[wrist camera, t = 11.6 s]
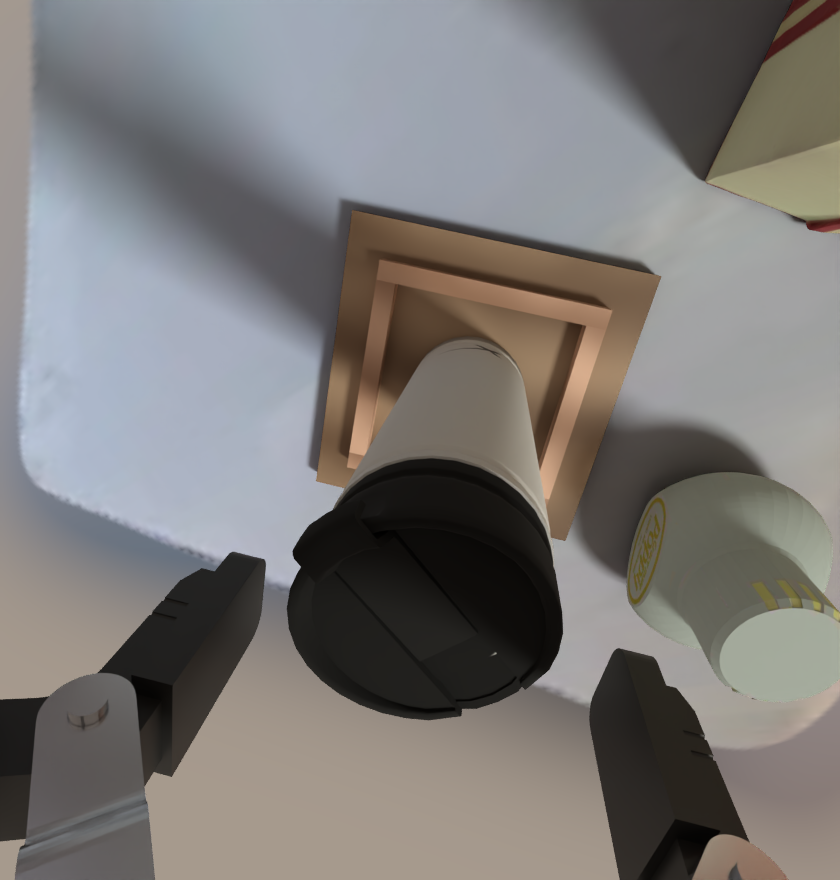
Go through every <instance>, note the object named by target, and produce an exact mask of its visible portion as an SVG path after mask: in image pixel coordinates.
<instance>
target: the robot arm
mask: <svg viewBox="0 0 840 880" xmlns="http://www.w3.org/2000/svg"><path fill="white" fill-rule="evenodd" d="M265 569H266V562H265V560H264V559H261V558H257V557H253V556H249V555H245V554H241V553H237V552H231V553H230V554H229V555H228V556H227V557H226V558H225V559H224V561H223V562H222V563H221V564H220V566H219V567H218V568H217V569H216V571H210V570H207V569H202V568H201V569H200V570H198V571H197V572H195V573H193V574H191V575H189V576H187V577H186V578H184V579H182V580H180V581H179V582H178V584H177V585H176V586H175V587H174V588H173V589H172V590H171V591H170V593H169V594H168V595H167V596H166V597H165V600H164V601H161V603H160V604H159V605H158V606H157V607H156V608H155V609H154V611H153V612H152V615H149V616H148V617H147V618H146V620H145V621H144V622H143V623H142V624H141V625H140V626H139V628H138V629H137V630H136V631H135V632H134V633H133V634H132V635H131V636H130V638H129V639H128V640H127V641H126V642H125V643H124V644H123V645H122V647H121V648H120V649H119V650H118V651H117V652H116V653H115V655H114V656H113V657H112V658H111V659H110V660H109V661H108V663H106V665H105V666H104V667H103V668H102V669H101V670H100V671H99V672H98V673H96V674H91V675H86V676H83V677H79V678H77V679H75V680H72V681H70V682H68V683H66V684H65V685H63V686H61V687H60V688H59V689H57V690H56V691H55V692H54V693H52V694H51V695H50V696H48V697H43V698H27V699H3V700H0V841H9V840H18V839H26V840H25V845H24V846H21V847H20V850H19V853H18V858H17V865H16V872H15V880H155V875H154V864H153V854H152V843H151V833H150V822H149V812H148V804H147V802H146V798H145V788H144V787H145V785H146V783H147V782H148V780H149V779H150V777H151V775H152V774H153V772H156V773H160V774H163V775H167V776H171V777H172V775H173V774H174V772H175V770H176V769H177V767H178V765H179V764H180V762H181V760H182V758H183V757H184V755H185V753H186V752H187V750H188V748H189V747H190V745H191V743H192V741H193V740H194V738H195V736H196V735H197V733H198V731H199V729H200V728H201V726H202V724H203V723H204V721H205V719H206V717H207V716H208V714H209V712H210V711H211V709H212V707H213V705H214V704H215V702H216V700H217V698H218V697H219V695H220V694H221V692H222V690H223V688H224V687H225V685H226V683H227V682H228V680H229V678H230V676H231V675H232V673H233V671H234V670H235V668H236V666H237V664H238V663H239V661H240V659H241V658H242V656H243V654H244V653H245V651H246V649H247V647H248V646H249V644H250V642H251V641H252V639H253V636H254V635H255V632H256V629H257V627H258V624H259V620H260V616H261V611H262V600H263V589H264V580H265ZM589 717H590V719H589V720H590V729H591V735H592V740H593V745H594V750H595V755H596V760H597V765H598V771H599V776H600V781H601V786H602V791H603V796H604V801H605V806H606V812H607V816H608V822H609V827H610V832H611V837H612V842H613V847H614V852H615V857H616V862H617V868H618V873H619V878H620V880H788V878H787V877H786V876H785V874H784V873H783V872H782V870H780V868H779V867H778V866H777V864H776V863H775V862H774V861H772V859H771V858H770V857H768V856H767V855H766V854H765V853H764V852H763V851H761V850H760V849H759V848H757V847H756V846H754V845H753V844H751V843H750V842H749V840H748V838H747V835H746V833H745V830H744V828H743V826H742V823H741V821H740V818H739V816H738V814H737V811H736V809H735V807H734V804H733V802H732V799H731V797H730V795H729V792H728V790H727V788H726V785H725V783H724V780H723V778H722V776H721V773H720V771H719V769H718V766H717V764H716V761H713V754H712V751H711V749H710V747H709V744H708V742H707V740H705V739H704V737H705V735H704V732H703V730H702V728H701V725H700V723H699V720H698V718H697V716H696V713H695V711H694V710H693V709H692V707H691V706H690V705H689V703H688V702H687V701H686V700H685V698H684V697H683V696H682V695H681V693H680V692H679V691H678V690H677V688H674V687H670V686H666V684H665V681H664V679H663V676H662V673H661V671H660V668H659V666H658V663H657V661H656V660H655V658H654V657H652V656H648V655H644V654H640V653H636V652H632V651H628V650H624V649H620V648H618V649H616V650H615V651H614V652H613V654H612V656H611V658H610V660H609V662H608V664H607V667H606V669H605V671H604V673H603V675H602V678H601V680H600V682H599V684H598V686H597V688H596V691H595V693H594V695H593V698H592V701H591V706H590V716H589Z"/></svg>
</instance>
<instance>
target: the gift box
mask: <svg viewBox="0 0 840 880" xmlns="http://www.w3.org/2000/svg"><path fill="white" fill-rule="evenodd" d="M705 182H706V183H707V184H710V185H713V186H715V187H718V188H721V189H723V190H726V191H728V192H731V193H733V194H736V195H738V196H741V197H745V198H748V199H751V200H754V201H756V202H759V203H762V204H764V205H767V206H770V207H772V208H775V209H777V210H780V211H783V212H785V213H788V214H790V215H793V216H795V217H798V218H800V219H803V220H806V225H807V228H808V229H809V230H814V231H819V232H825V233H840V0H793V2H792V4H791V6H790V8H789V9H788V11H787V13H786V15H785V17H784V19H783V21H782V23H781V26H780V28H779V30H778V32H777V34H776V36H775V38H774V40H773V42H772V44H771V46H770V48H769V50H768V52H767V55H766V57H765V59H764V61H763V63H762V65H761V68H760V70H759V72H758V74H757V76H756V77H755V80H754V82H753V84H752V86H751V88H750V90H749V92H748V94H747V96H746V98H745V100H744V102H743V104H742V106H741V108H740V109H739V111H738V113H737V115H736V117H735V119H734V121H733V123H732V125H731V127H730V129H729V131H728V133H727V135H726V137H725V139H724V141H723V143H722V145H721V148H720V150H719V152H718V154H717V156H716V158H715V160H714V162H713V164H712V166H711V168H710V170H709V172H708V175H707V177H706V179H705Z"/></svg>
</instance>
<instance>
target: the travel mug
mask: <svg viewBox="0 0 840 880" xmlns="http://www.w3.org/2000/svg"><path fill="white" fill-rule="evenodd" d="M293 557H294V559H295V560H296V561H297V563H298V564H299V565H300V566H301V568H300V570H299V571H298V573H297V575H296V577H295V579H294V582H293V584H292V586H291V588H290V593H289V599H288V605H287V614H288V624H289V630H290V633H291V636H292V638H293V641H294V644H295V646H296V649H297V650H298V652H299V654H300V655H301V656H302V658H303V660H304V661H305V663H306V664H307V666H308V667H309V668H310V669H311V670H312V671H313V672H314V673H315V674H316V675H317V676H318V677H319V678H320V679H321V680H322V681H323V682H324V683H325V684H327V685H328V686H329V687H331V688H332V689H334V690H335V691H336V692H338V693H339V694H341V695H342V696H344V697H346V698H348V699H350V700H352V701H354V702H356V703H358V704H359V705H362V706H365V707H367V708H370V709H373V710H376V711H378V712H381V713H385V714H389V715H394V716H399V717H403V718H410V719H421V720H434V719H442V718H449V717H458V716H461V714H462V709H477V708H480V707H483V706H486V705H489V704H492V703H495V702H498V701H500V700H502V699H504V698H506V697H508V696H510V695H512V694H514V693H516V692H518V691H519V689H520V688H521V687H523V688H524V689H527V688H528V687H529V686H531V685H532V684H533V683H534V682H535V681H537V680H538V679H539V678H540V677H541V676H542V675H544V674H545V673H546V672H547V671H548V670H549V669H550V667H551V665H552V663H553V662H554V660H555V658H556V656H557V654H558V652H559V648H560V643H561V639H562V635H563V621H562V609H561V603H560V597H559V591H558V585H557V580H556V574H555V570H554V553H553V543H552V539H551V535H550V526H549V521H548V515H547V510H546V504H545V498H544V493H543V487H542V482H541V476H540V470H539V465H538V459H537V454H536V448H535V442H534V437H533V431H532V426H531V420H530V414H529V409H528V403H527V398H526V392H525V386H524V381H523V378H522V374H521V371H520V369H519V367H518V365H517V363H516V361H515V360H514V359H513V358H512V356H511V355H510V354H509V353H508V352H507V351H506V350H505V349H503V348H502V347H501V346H499V345H498V344H496V343H494V342H492V341H490V340H487V339H483V338H480V337H470V336H465V337H457V338H453V339H450V340H447V341H444V342H443V343H441V344H439V345H437V346H435V347H434V348H433V349H432V350H431V351H430V352H428V353H427V354H426V356H425V357H424V358H423V360H422V361H421V362H420V364H419V366H418V367H417V369H416V371H415V372H414V374H413V376H412V377H411V379H410V381H409V382H408V384H407V385H406V387H405V389H404V390H403V392H402V394H401V395H400V397H399V399H398V400H397V402H396V404H395V405H394V407H393V409H392V410H391V412H390V414H389V415H388V417H387V419H386V420H385V422H384V424H383V425H382V427H381V429H380V430H379V432H378V434H377V435H376V437H375V439H374V440H373V442H372V444H371V445H370V447H369V449H368V450H367V452H366V454H365V455H364V457H363V459H362V460H361V462H360V464H359V465H358V467H357V469H356V470H355V472H354V474H353V475H352V477H351V479H350V480H349V482H348V484H347V485H346V487H345V489H344V491H343V493H342V494H341V495H340V497H339V499H338V500H337V502H336V504H335V506H334V508H333V510H332V511H330V512H328V513H326V514H325V515H324V516H322V517H321V518H319V519H318V520H316V521H315V522H313V523H312V524H310V525H309V526H308V528H307V529H306V530H305V532H304V533H303V534H302V536H301V537H300V539H299V541H298V542H297V544H296V546H295V547H294V549H293Z"/></svg>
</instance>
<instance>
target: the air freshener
mask: <svg viewBox="0 0 840 880" xmlns="http://www.w3.org/2000/svg"><path fill="white" fill-rule="evenodd" d="M832 558H833V546H832V537H831V534H830V531H829V529H828V527H827V525H826V523H825V521H824V520H823V518H822V516H821V515H820V514H819V513H818V511H817V510H816V509H815V508H814V507H813V506H812V505H811V503H810V502H808V501H807V500H806V499H805V498H803V497H802V496H801V495H800V494H798V493H797V492H796V491H794V490H792V489H791V488H789V487H787V486H785V485H783V484H781V483H779V482H777V481H774V480H771V479H768V478H765V477H762V476H758V475H752V474H746V473H739V472H718V473H710V474H702V475H699V476H695V477H691V478H688V479H685V480H682V481H680V482H677V483H675V484H673V485H670V486H669V487H667V488H665V489H664V490H662V491H660V492H659V493H657V494H656V495H655V496H654V497H653V498H652V499H651V500H650V501H649V503H648V504H647V506H646V508H645V510H644V512H643V514H642V516H641V519H640V521H639V524H638V527H637V529H636V532H635V536H634V539H633V543H632V547H631V552H630V557H629V563H628V570H627V596H628V600H629V603H630V605H631V606H632V608H633V609H634V611H635V612H636V613H637V615H638V616H639V617H640V618H641V619H642V620H643V621H644V622H645V623H646V624H647V625H649V626H650V627H651V628H652V629H654V630H655V631H657V632H658V633H660V634H661V635H663V636H664V637H666V638H668V639H671V640H673V641H675V642H677V643H679V644H682V645H685V646H688V647H691V648H695V649H700V650H703V651H704V653H705V655H706V657H707V659H708V661H709V663H710V665H711V667H712V669H713V671H714V673H715V674H716V676H717V677H718V679H719V680H720V681H721V682H722V683H723V684H724V685H725V686H728V687H731V688H732V690H733V691H734V692H736V693H738V694H740V695H742V696H747V697H751V698H752V699H756V700H761V701H767V702H791V701H797V700H801V699H805V698H809V697H811V696H814V695H816V694H819V693H821V692H822V691H824V690H826V689H828V688H829V687H831V686H832V685H833V684H835V683H836V682H837V681H838V680H839V679H840V612H839V611H838V610H837V609H836V608H835V607H834V605H833V604H832V603H831V602H830V601H829V600H828V599H827V598H826V596H825V595H824V592H825V589H826V586H827V583H828V580H829V577H830V572H831V566H832Z"/></svg>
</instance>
